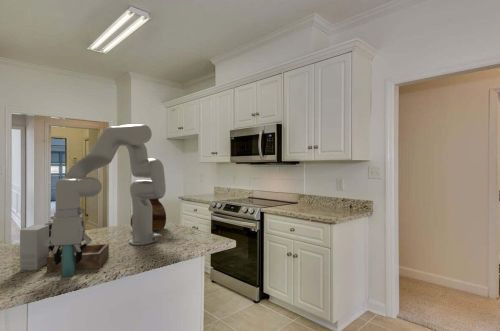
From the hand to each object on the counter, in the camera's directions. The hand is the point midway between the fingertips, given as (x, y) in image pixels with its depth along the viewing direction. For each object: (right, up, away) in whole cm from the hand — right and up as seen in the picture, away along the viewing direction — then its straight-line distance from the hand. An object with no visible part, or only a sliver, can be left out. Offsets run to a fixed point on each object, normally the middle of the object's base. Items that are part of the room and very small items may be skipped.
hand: (68, 262), depth 106 cm
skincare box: (-18, -5, +8) cm, 20 cm away
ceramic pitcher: (+5, -4, +69) cm, 69 cm away
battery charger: (-29, -4, +35) cm, 45 cm away
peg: (0, -5, 0) cm, 5 cm away
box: (-3, -4, +12) cm, 13 cm away
